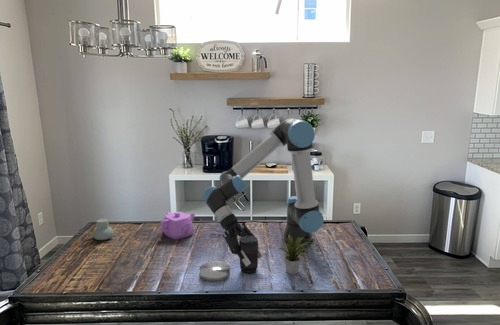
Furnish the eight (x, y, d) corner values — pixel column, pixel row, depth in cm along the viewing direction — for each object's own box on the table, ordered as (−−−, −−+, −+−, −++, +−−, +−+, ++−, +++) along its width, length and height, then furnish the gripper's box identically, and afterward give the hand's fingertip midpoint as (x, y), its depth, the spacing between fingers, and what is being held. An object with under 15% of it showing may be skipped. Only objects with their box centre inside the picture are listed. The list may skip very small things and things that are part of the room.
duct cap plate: (232, 268, 168) (232, 261, 167) (226, 283, 155) (226, 276, 154) (203, 266, 169) (203, 260, 169) (196, 281, 157) (195, 274, 156)
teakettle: (166, 227, 214) (165, 207, 212) (196, 228, 214) (195, 207, 211) (158, 240, 198) (157, 217, 195) (190, 240, 197) (189, 218, 194)
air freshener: (115, 239, 199) (114, 221, 197) (99, 243, 193) (98, 225, 191) (107, 233, 207) (105, 215, 204) (91, 237, 201) (90, 219, 199)
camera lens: (236, 268, 168) (236, 236, 164) (253, 265, 170) (254, 234, 167) (243, 276, 160) (242, 244, 157) (260, 273, 163) (260, 241, 160)
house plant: (301, 284, 155) (302, 247, 151) (270, 275, 161) (271, 240, 158) (313, 269, 167) (314, 234, 163) (284, 262, 173) (285, 228, 170)
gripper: (236, 215, 179) (263, 256, 173) (205, 229, 162) (234, 274, 156) (245, 207, 174) (273, 248, 168) (214, 220, 158) (244, 266, 152)
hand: (254, 260), depth 162 cm, fingers closed on camera lens, 8 cm apart
